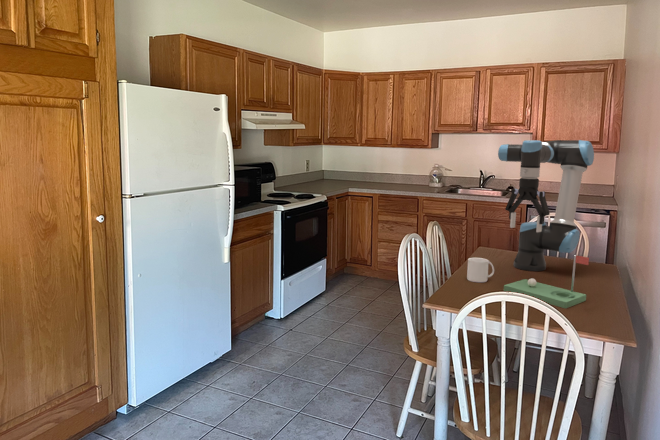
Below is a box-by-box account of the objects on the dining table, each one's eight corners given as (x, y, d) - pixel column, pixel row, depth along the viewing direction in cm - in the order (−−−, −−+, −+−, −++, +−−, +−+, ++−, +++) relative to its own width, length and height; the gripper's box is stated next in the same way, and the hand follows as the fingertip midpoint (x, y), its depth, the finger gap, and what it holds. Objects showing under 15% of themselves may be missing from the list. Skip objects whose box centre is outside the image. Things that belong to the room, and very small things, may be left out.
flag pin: (569, 297, 203) (573, 254, 200) (570, 296, 204) (574, 254, 201) (584, 301, 199) (588, 257, 196) (585, 300, 199) (589, 257, 196)
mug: (468, 282, 224) (469, 261, 222) (465, 276, 232) (467, 257, 231) (495, 283, 222) (497, 263, 220) (492, 277, 230) (493, 258, 229)
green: (503, 290, 211) (503, 285, 210) (524, 284, 220) (524, 279, 220) (565, 308, 190) (566, 302, 189) (585, 300, 199) (586, 294, 199)
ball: (525, 286, 209) (526, 278, 209) (530, 284, 211) (530, 276, 211) (533, 288, 207) (533, 280, 206) (537, 286, 209) (538, 278, 208)
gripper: (498, 176, 212) (495, 226, 216) (552, 180, 194) (547, 235, 197) (509, 175, 217) (505, 224, 221) (561, 179, 198) (557, 233, 202)
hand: (525, 229), depth 209 cm, fingers open, 11 cm apart
